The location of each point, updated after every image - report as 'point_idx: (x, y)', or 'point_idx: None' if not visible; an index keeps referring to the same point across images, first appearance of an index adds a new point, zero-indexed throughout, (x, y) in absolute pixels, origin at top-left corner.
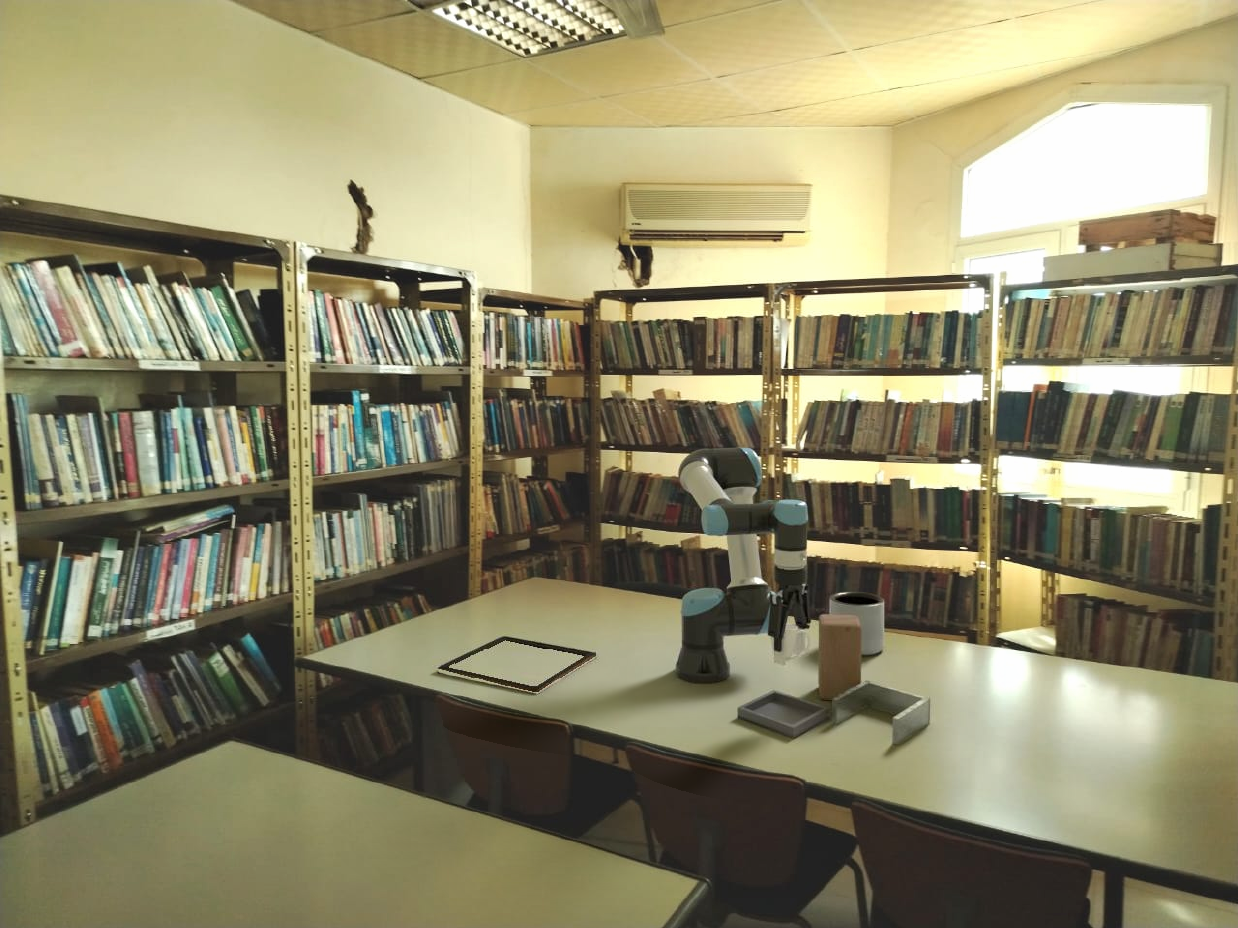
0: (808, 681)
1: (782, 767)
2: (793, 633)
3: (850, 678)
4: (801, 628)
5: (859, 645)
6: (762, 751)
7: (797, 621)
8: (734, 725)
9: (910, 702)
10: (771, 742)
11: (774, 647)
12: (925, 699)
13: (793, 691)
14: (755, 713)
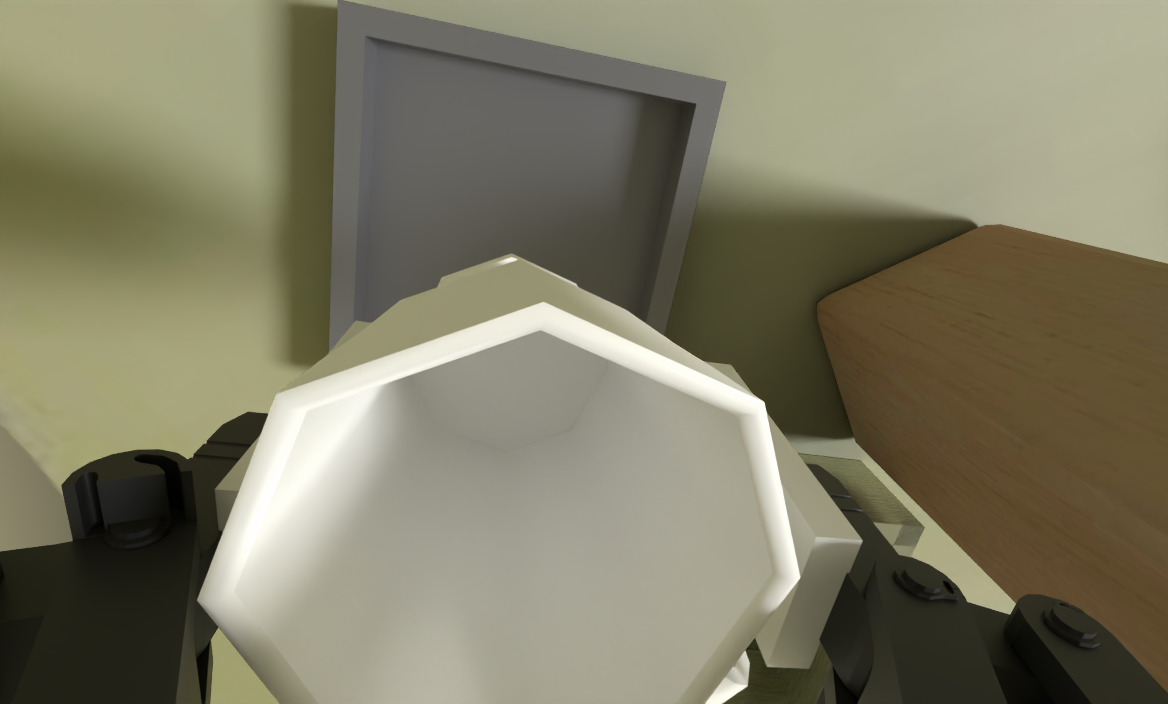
0: (1038, 141)
1: (75, 440)
2: (457, 697)
3: (906, 474)
4: (818, 627)
5: None
6: (124, 313)
7: (870, 676)
8: (257, 47)
9: (807, 671)
10: (236, 306)
11: (214, 444)
12: None
13: (869, 129)
14: (339, 147)
